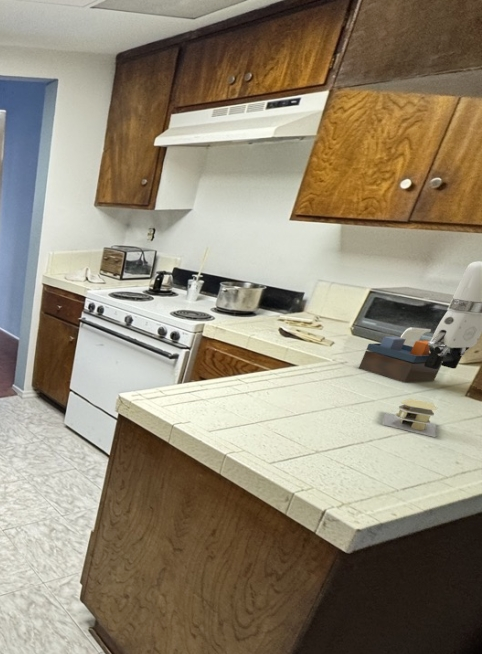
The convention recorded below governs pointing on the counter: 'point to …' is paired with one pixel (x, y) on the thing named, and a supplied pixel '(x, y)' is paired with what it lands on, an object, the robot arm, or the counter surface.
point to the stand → (397, 368)
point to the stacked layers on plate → (413, 417)
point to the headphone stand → (413, 335)
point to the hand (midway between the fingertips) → (439, 366)
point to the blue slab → (403, 353)
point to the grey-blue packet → (393, 343)
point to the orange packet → (420, 348)
